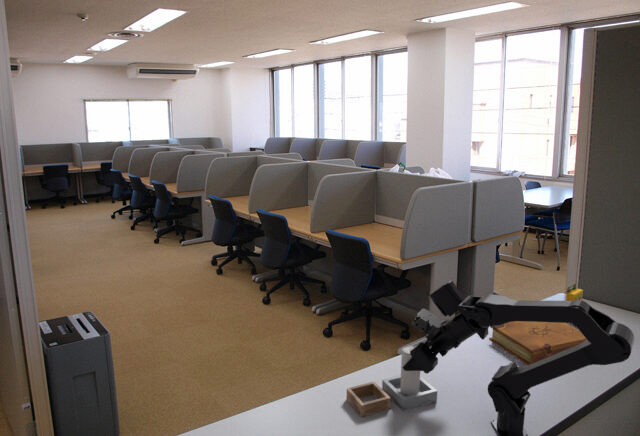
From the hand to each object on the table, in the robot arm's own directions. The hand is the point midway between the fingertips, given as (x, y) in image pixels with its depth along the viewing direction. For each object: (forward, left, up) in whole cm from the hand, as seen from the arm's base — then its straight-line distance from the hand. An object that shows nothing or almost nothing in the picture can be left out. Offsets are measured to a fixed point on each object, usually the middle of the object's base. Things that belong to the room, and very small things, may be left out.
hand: (411, 360), depth 126 cm
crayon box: (+44, -67, -10) cm, 81 cm away
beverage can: (0, 0, -9) cm, 9 cm away
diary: (+24, -46, -11) cm, 53 cm away
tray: (0, 0, -10) cm, 10 cm away
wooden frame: (-3, +11, -10) cm, 15 cm away
